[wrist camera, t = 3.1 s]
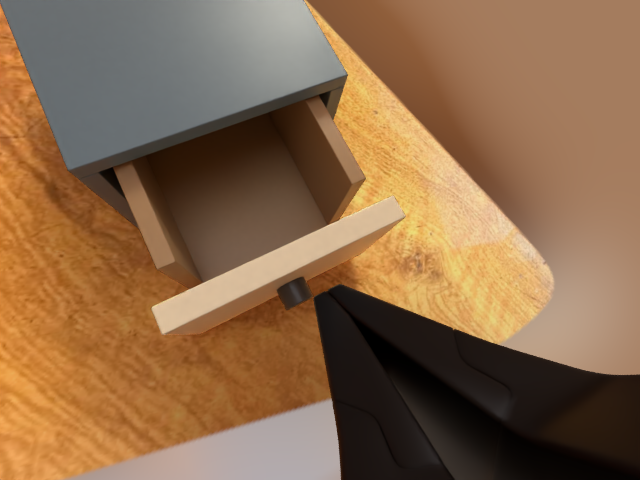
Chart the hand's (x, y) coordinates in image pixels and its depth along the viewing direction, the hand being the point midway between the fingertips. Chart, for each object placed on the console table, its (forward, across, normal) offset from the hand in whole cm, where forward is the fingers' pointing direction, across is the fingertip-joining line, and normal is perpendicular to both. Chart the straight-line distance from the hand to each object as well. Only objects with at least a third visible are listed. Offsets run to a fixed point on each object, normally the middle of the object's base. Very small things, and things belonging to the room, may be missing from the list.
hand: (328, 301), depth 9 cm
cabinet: (+21, 0, -2) cm, 21 cm away
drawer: (+15, 0, +3) cm, 15 cm away
